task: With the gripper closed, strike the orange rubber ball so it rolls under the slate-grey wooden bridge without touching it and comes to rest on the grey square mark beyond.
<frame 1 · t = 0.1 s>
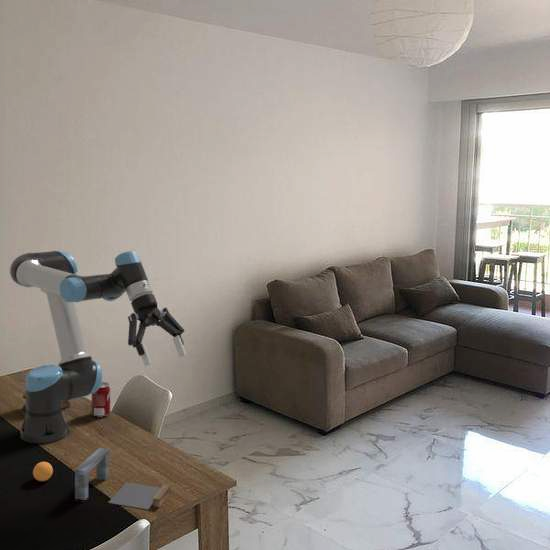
hand: (166, 360, 188), 36 cm above the table, tool tilted 35°, fingers open, 13 cm apart
bridge: (92, 488, 181), on the table
ball: (42, 471, 184), on the table
owl figurine: (48, 407, 238), on the table
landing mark: (137, 495, 178), on the table
stopper wall: (161, 499, 177), on the table
soda can: (100, 415, 234), on the table
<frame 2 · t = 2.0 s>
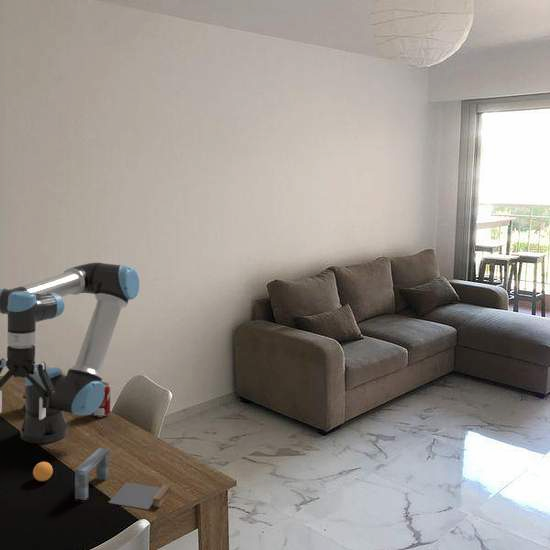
hand: (20, 415, 182), 20 cm above the table, tool pointing down, fingers open, 13 cm apart
nothing on the table moved.
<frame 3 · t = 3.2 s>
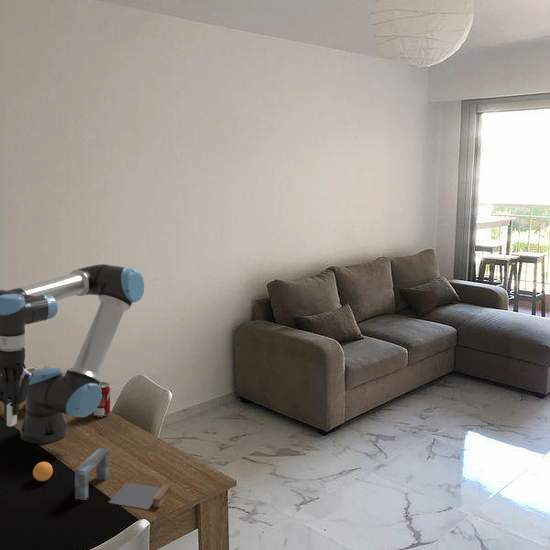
hand: (11, 424, 183), 16 cm above the table, tool pointing down, fingers closed
nothing on the table moved.
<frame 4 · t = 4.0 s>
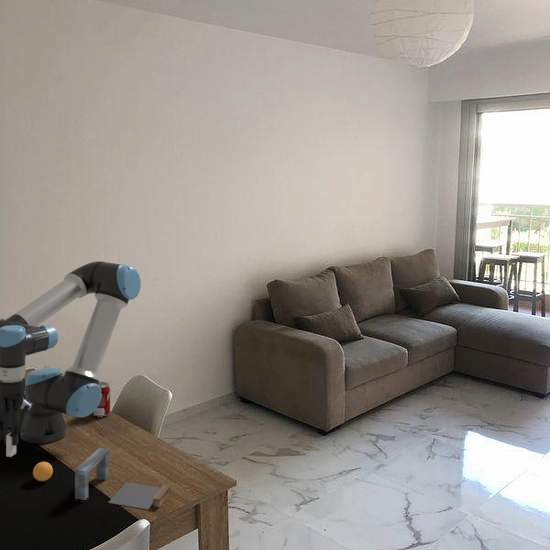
hand: (11, 454, 185), 7 cm above the table, tool pointing down, fingers closed
nothing on the table moved.
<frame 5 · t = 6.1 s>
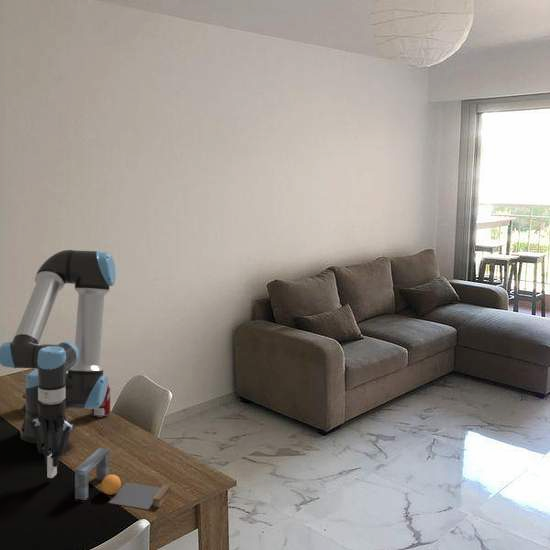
hand: (52, 475, 183), 2 cm above the table, tool pointing down, fingers closed
ball: (111, 484, 178), on the table
everything else where it was.
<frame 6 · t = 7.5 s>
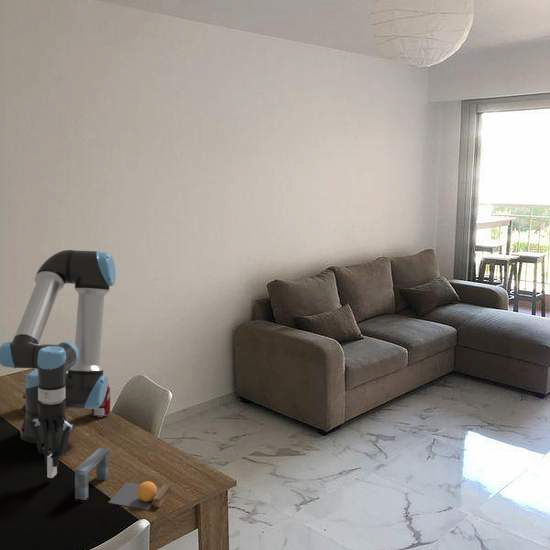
hand: (52, 475, 183), 2 cm above the table, tool pointing down, fingers closed
ball: (147, 491, 176), on the table
everything else where it was.
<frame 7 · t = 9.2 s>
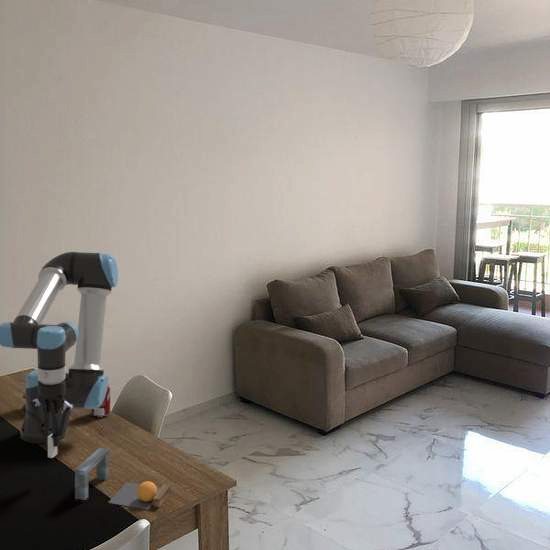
hand: (52, 455, 183), 8 cm above the table, tool pointing down, fingers closed
nothing on the table moved.
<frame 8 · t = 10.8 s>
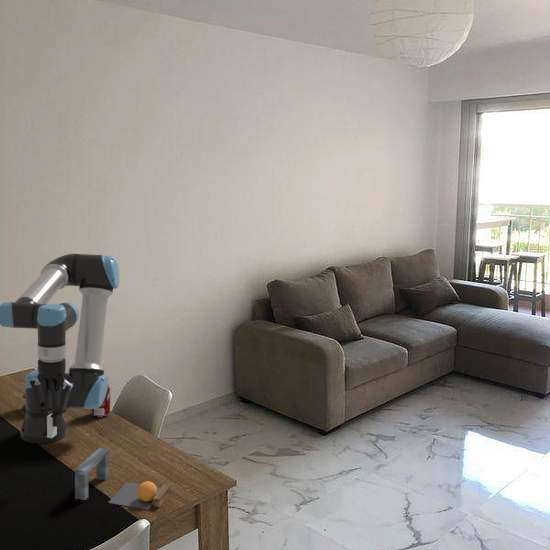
hand: (52, 435, 181), 14 cm above the table, tool pointing down, fingers closed
nothing on the table moved.
at the end: ball 4.0 cm from the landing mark (horizontally); ball never touched bridge; ball at rest at the end (0.0 cm/s) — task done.
